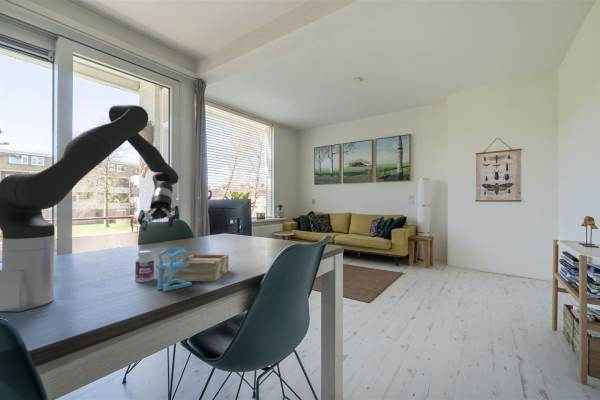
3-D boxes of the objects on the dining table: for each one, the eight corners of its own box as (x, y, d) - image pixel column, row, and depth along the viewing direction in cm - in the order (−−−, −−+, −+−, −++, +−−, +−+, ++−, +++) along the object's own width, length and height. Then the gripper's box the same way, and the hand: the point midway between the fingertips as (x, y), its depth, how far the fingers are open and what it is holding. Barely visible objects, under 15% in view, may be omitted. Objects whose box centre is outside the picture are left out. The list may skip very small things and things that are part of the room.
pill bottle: (139, 283, 84) (139, 253, 84) (132, 280, 87) (132, 251, 87) (156, 279, 88) (157, 251, 88) (149, 276, 91) (150, 249, 92)
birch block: (215, 281, 87) (215, 263, 87) (173, 280, 87) (174, 262, 87) (228, 270, 101) (228, 254, 101) (192, 269, 101) (192, 254, 101)
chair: (151, 289, 79) (152, 249, 79) (175, 281, 86) (176, 245, 86) (169, 293, 75) (169, 251, 76) (192, 285, 83) (192, 247, 83)
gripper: (139, 195, 105) (132, 224, 93) (178, 191, 108) (175, 218, 97) (145, 209, 110) (139, 238, 98) (182, 205, 113) (180, 231, 101)
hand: (157, 228), depth 97 cm, fingers open, 8 cm apart
